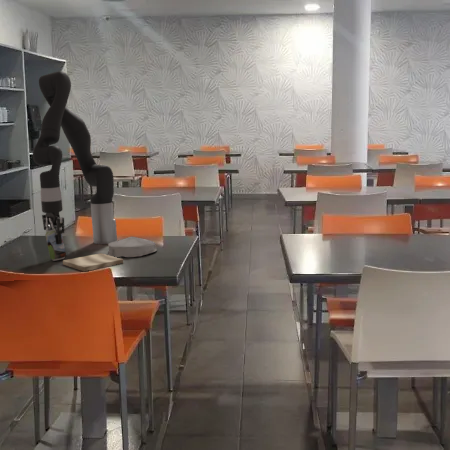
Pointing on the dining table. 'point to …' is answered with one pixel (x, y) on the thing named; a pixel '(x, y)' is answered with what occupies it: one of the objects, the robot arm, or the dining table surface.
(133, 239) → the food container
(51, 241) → the beverage can
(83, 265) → the coaster board
